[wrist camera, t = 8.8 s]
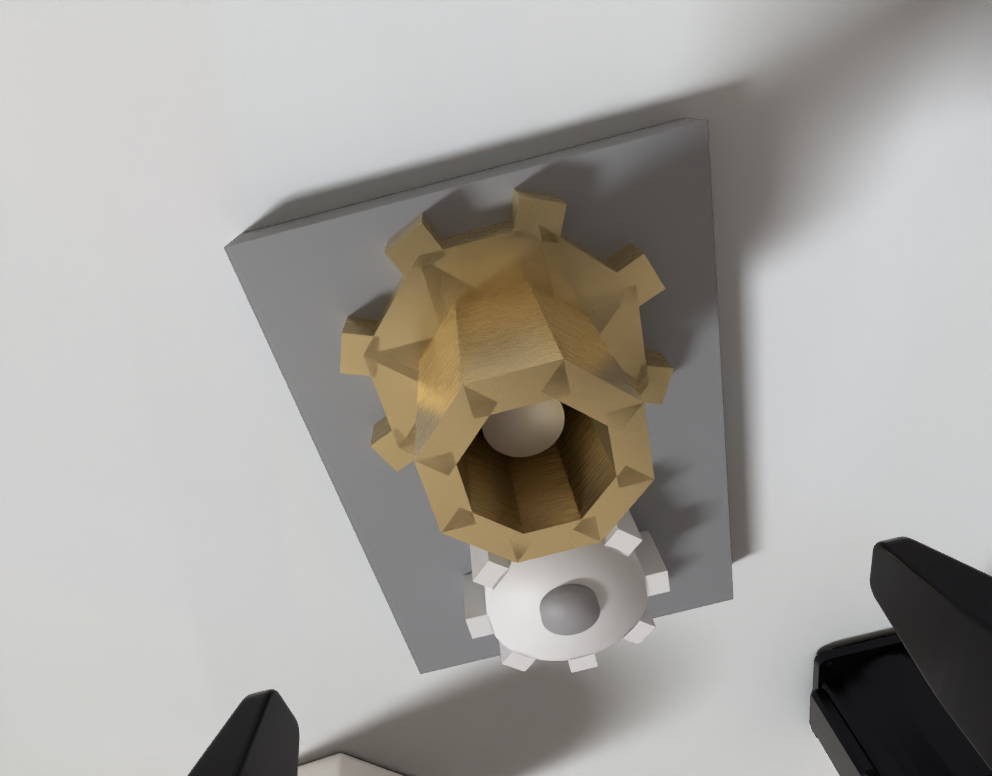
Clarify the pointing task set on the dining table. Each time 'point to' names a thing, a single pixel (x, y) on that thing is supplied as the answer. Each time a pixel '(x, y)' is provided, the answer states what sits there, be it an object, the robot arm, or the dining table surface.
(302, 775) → the jar
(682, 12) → the dining table surface
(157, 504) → the dining table surface
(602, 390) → the brass gear
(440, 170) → the dining table surface
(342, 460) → the plate
